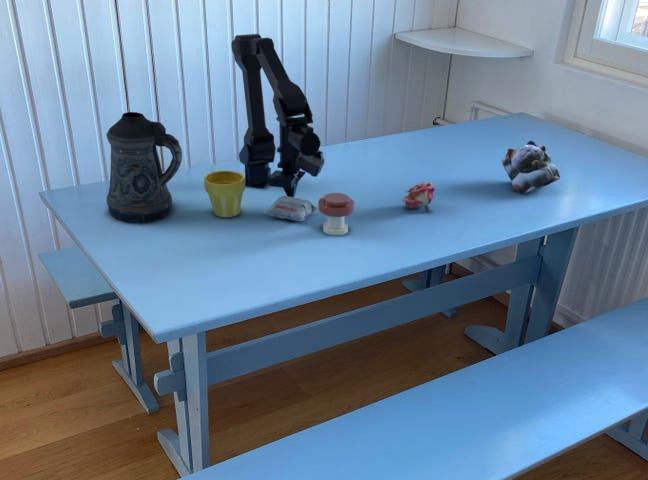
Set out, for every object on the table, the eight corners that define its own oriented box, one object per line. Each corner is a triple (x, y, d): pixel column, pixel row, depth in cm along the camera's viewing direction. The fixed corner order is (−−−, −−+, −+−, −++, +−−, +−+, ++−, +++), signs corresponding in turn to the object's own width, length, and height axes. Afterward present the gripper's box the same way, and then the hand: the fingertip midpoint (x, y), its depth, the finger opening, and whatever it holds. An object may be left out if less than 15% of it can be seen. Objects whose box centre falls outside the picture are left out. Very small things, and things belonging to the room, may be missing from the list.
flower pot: (208, 204, 198) (205, 169, 192) (247, 204, 199) (245, 169, 193) (205, 220, 189) (202, 184, 184) (245, 220, 190) (244, 184, 185)
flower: (445, 201, 202) (433, 174, 200) (438, 207, 194) (425, 179, 192) (414, 216, 206) (402, 190, 205) (406, 222, 198) (393, 195, 197)
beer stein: (104, 202, 196) (88, 107, 181) (176, 193, 203) (167, 101, 188) (113, 227, 184) (97, 127, 169) (190, 217, 190) (182, 120, 176)
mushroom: (313, 234, 185) (313, 201, 180) (323, 220, 193) (324, 188, 187) (347, 240, 184) (348, 207, 179) (357, 225, 191) (358, 193, 186)
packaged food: (304, 228, 188) (304, 210, 185) (262, 219, 191) (262, 201, 188) (317, 215, 195) (318, 198, 192) (277, 208, 198) (276, 190, 195)
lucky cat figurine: (516, 196, 211) (504, 148, 208) (506, 197, 223) (495, 151, 220) (566, 181, 211) (555, 132, 208) (553, 182, 223) (543, 136, 220)
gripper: (309, 160, 178) (309, 219, 187) (331, 135, 193) (330, 191, 202) (266, 153, 180) (268, 212, 189) (291, 129, 195) (291, 185, 204)
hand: (291, 200), depth 196 cm, fingers closed
